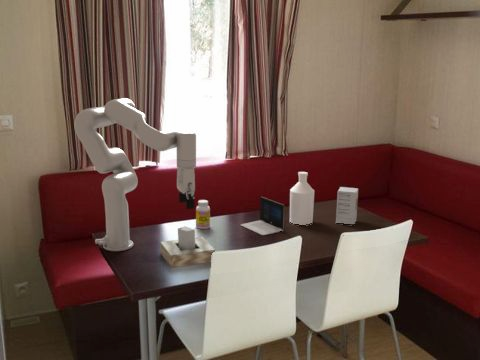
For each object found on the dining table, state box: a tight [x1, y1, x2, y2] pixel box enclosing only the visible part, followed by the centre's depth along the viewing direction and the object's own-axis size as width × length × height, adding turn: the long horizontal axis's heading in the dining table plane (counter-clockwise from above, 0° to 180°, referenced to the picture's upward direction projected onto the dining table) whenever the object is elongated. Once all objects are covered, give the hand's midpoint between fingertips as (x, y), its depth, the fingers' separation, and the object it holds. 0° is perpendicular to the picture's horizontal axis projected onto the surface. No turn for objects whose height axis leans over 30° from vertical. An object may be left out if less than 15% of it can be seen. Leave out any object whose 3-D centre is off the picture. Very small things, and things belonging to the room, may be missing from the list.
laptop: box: [240, 196, 285, 236], centre depth 252 cm, size 18×12×13 cm
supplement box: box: [335, 186, 359, 224], centre depth 263 cm, size 10×9×17 cm
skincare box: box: [177, 225, 196, 251], centre depth 216 cm, size 6×4×12 cm
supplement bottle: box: [195, 199, 211, 230], centre depth 253 cm, size 7×7×13 cm
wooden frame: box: [160, 236, 216, 268], centre depth 216 cm, size 18×16×5 cm
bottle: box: [289, 171, 315, 226], centre depth 261 cm, size 12×12×25 cm
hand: (186, 205), depth 212 cm, fingers open, 9 cm apart
